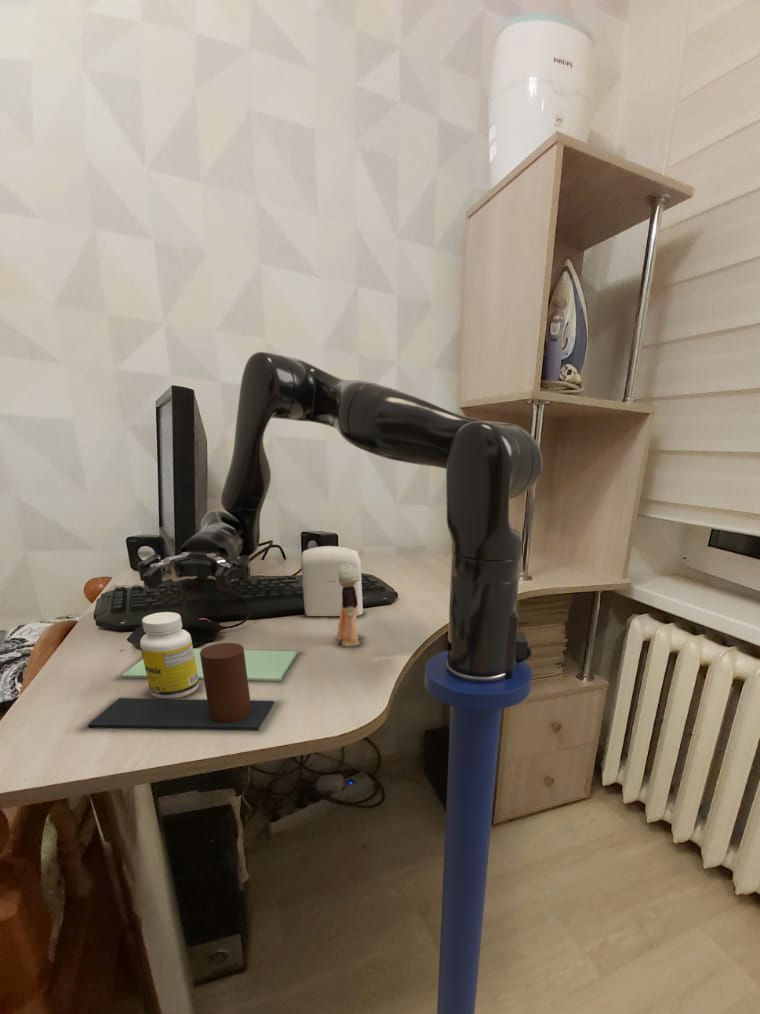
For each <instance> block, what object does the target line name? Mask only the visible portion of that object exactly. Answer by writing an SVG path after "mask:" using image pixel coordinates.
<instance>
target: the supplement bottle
mask: <svg viewBox="0 0 760 1014" xmlns="http://www.w3.org/2000/svg"><path fill="white" fill-rule="evenodd" d="M141 622H142V629H143V631H144V633H145V634H144V635H143V636H142V637H141V638H140V641H139V646H140V652H141V655H142V659H143V660H144V665H145V670H146V674H147V678H146V679H147V684H148V688H149V691H150V694H151V696H152V697H154V698H156V699H180V698H181V697H185V696H188V695H190V694H192V693H194V692H195V691H197V689H198V688H199V686H200V679H198V674H197V668H196V663H195V657H194V651H193V649H194V646H193V641H192V636H191V634H190V632H188V631H187V630H186V629H183V622H182V617H181V615H180V614H179V613H178V612H172V611H162V612H155V613H152V614H148V615H146V616H144V617H143V618H142V619H141Z"/></svg>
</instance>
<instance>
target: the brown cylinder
mask: <svg viewBox="0 0 760 1014" xmlns="http://www.w3.org/2000/svg"><path fill="white" fill-rule="evenodd" d="M201 649H202V650H201V651H200V658H201V664H202V670H203V676H204V679H203V682H204V689H205V695H206V700H207V701H208V708H209V714H210V718H211V719H212V720H214V721H216V722H222V723H227V722H234V721H238V720H241V719H243V718H245V717H247V716H248V715H249V714H250V713H251V702H250V701H251V696H250V687H249V680H248V678H247V670H246V662H245V654H244V650H245V647H244V646H243V645H242V644H241V643H235V642H220V643H219V642H218V643H214V644H211V645H210V644H209V645H207V646H205V647H204V648H201Z"/></svg>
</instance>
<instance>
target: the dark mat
mask: <svg viewBox="0 0 760 1014" xmlns="http://www.w3.org/2000/svg"><path fill="white" fill-rule="evenodd" d="M250 702H251V713H250V714H249V715H248V716H247V717H245V718H243V719H241V720H238V721H234V722H227V723H222V722H216V721H214V720H212V719H211V718H210V714H209V708H208V701H207V699H192V698H191V699H188V698H187V699H186V698H173V699H161V698H139V697H138V698H135V697H134V698H133V697H132V698H131V697H119V698H117V700H116V701H114V702H113V703H112V704H110V705H109V706H108V707H107V708H106V709H104V710H103V711H102V712H101V713H100V714H98V716H97V717H95V718H93V720H91V721H90V722H89V723H88V724H87V727H88V728H89V729H150V730H151V729H158V730H159V729H160V730H224V731H225V730H226V731H227V730H229V731H230V730H231V731H235V730H236V731H258V730H259V729H260V728H261V727H262V726H261V725H263V723H264V721H265V720H266V718H267V716H268V715H269V713H270V711H271V710H272V708H273V707H274V704H275V701H274V700H250Z"/></svg>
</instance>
